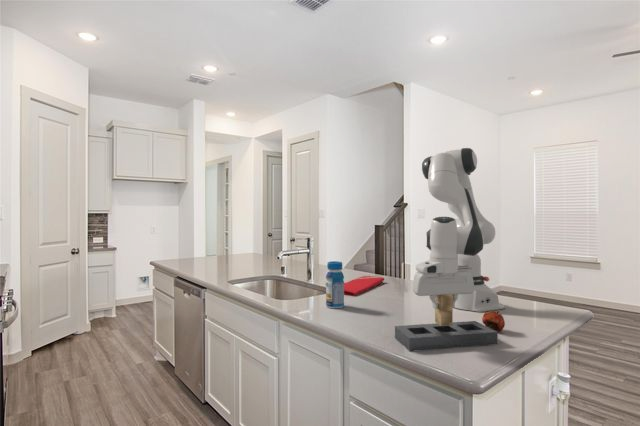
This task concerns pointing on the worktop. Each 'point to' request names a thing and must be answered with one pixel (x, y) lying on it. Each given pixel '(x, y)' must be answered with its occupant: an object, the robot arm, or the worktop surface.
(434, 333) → the gray socket block
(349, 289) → the dish drying mat
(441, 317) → the oak peg
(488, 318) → the pomegranate
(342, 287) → the beverage bottle
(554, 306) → the worktop surface
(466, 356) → the worktop surface
